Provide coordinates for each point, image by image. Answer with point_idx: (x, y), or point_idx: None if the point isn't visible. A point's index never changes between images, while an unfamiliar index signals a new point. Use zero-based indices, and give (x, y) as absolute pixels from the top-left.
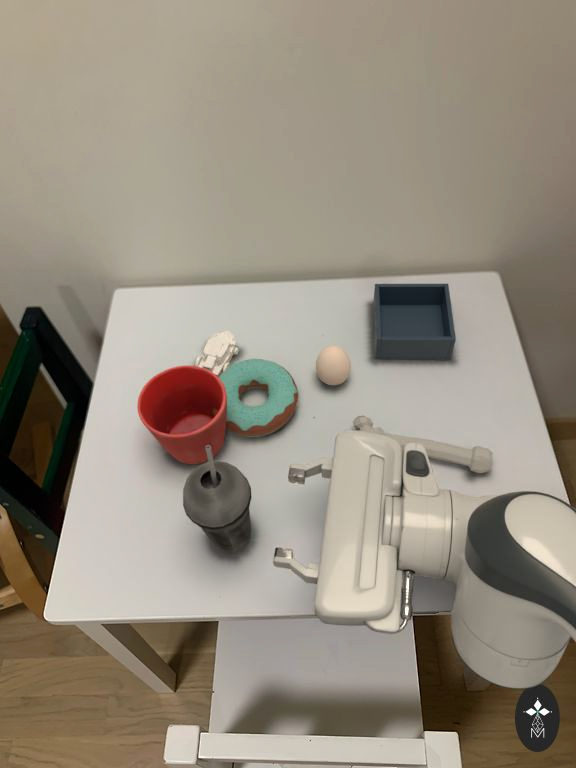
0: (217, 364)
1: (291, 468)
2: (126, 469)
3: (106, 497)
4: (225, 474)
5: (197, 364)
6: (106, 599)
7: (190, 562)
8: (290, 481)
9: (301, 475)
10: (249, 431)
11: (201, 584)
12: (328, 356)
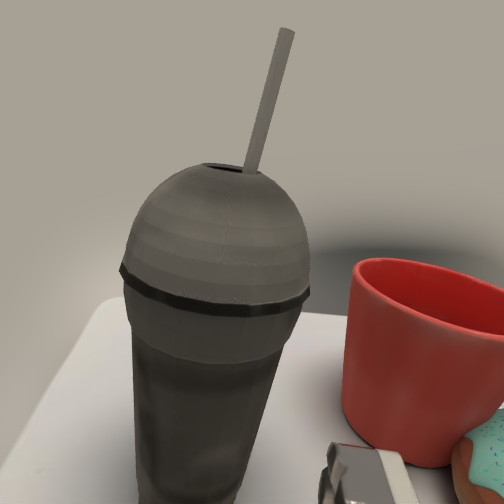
0: None
1: (374, 450)
2: (306, 343)
3: None
4: (252, 182)
5: None
6: (106, 329)
7: None
8: (320, 488)
9: (353, 494)
10: (476, 493)
11: (84, 435)
12: None
